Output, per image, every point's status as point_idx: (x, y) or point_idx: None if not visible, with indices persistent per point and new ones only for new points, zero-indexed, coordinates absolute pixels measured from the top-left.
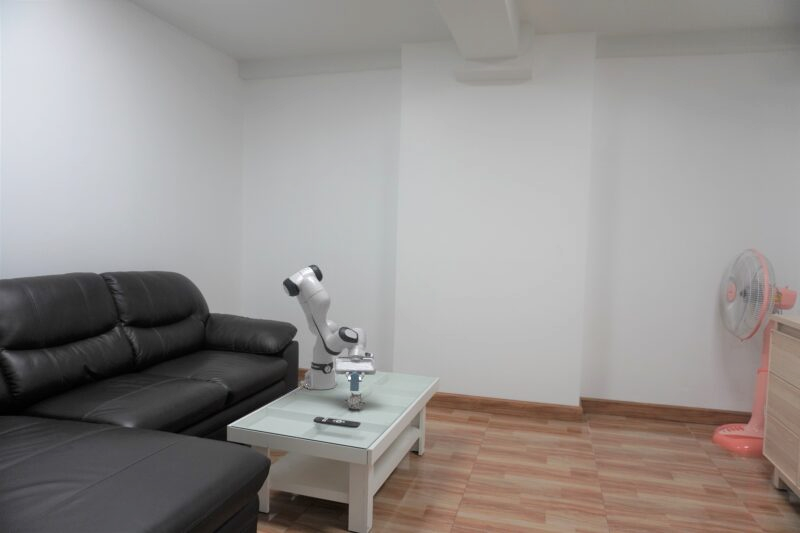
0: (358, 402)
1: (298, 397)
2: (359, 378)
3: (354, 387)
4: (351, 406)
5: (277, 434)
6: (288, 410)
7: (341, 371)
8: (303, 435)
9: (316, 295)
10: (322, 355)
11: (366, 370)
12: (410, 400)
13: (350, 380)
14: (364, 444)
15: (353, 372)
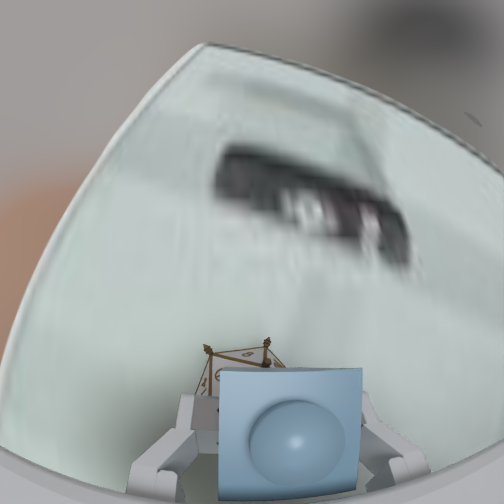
0: (223, 353)
1: None
2: (211, 413)
3: (265, 368)
4: (266, 341)
5: (437, 127)
6: (499, 334)
7: (478, 454)
8: (380, 108)
9: None
10: None
11: (78, 489)
12: None
13: (330, 368)
14: (210, 55)
15: (327, 428)
